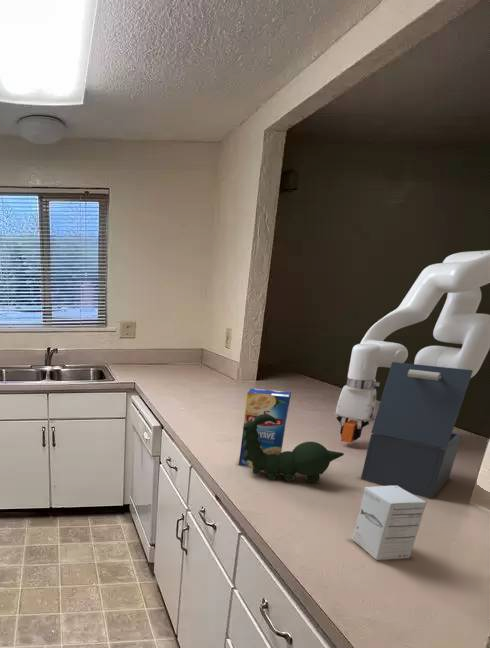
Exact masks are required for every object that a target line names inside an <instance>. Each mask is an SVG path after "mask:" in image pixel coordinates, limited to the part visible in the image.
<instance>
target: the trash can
mask: <svg viewBox="0 0 490 648" xmlns="http://www.w3.org/2000/svg"><path fill="white" fill-rule="evenodd" d="M462 436H463V434H462V433H461V434H460V433H456V432H452V434H451V437H450V440H449V443H448V446H447V449H445V448H441V447H436V446H431V445H426V444H422V443H417V442H412V441H407V440H403V439H398V438H393V437H388V436H384V435H379V434H374V433H370V438H369V442H368V446H367V451H366V455H365V459H364V464H363V467H362V471H361V477H360V480H364V481H367V482H371V483H374V484H378V485H380V486H399V487H400V488H402V489H404V490H406V491H408V492H409V493H411V494H413V495H417V496H420V497H424V498H426V499H427V498H428V499H433V497H435V495H436V494H437V493H438V492H439V490H440V489H441V488H442V487H443V486H444V485H445V484H446V482H447V481H448V480H449V479H450V476H451V472H452V469H453V466H454V464H455V459H456V457H457V454H458V450H459V446H460V443H461V441H462V438H463V437H462Z"/></svg>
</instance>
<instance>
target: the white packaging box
mask: <svg viewBox="0 0 490 648" xmlns="http://www.w3.org/2000/svg"><path fill="white" fill-rule="evenodd" d="M426 506H427V501H425V500H424V499H422V498H420V497H419V496H416V494H413V493H410V492H408V491H406V490H404V489H402V488H400V487H399V486H385V485H376V486H365V487H364V491H363V495H362V499H361V503H360V506H359V510H358V515H357V518H356V522H355V527H354V531H353V535H352V538H351V540H352V541H353V542H354V543H356V544H357V545H358V546H359V547H360V548H362V549H363V550H364V551H365V552H367V553H368V554H369V555H370V556H371V557H372V558H374V559H375V560H376V561H384V560H387V561H388V560H400V559H401V560H402V559H403V560H404V559H409V558H410V557H411V554H412V551H413V548H414V544H415V541H416V538H417V535H418V531H419V528H420V525H421V521H422V518H423V515H424V512H425V509H426Z"/></svg>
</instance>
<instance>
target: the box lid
mask: <svg viewBox="0 0 490 648" xmlns="http://www.w3.org/2000/svg"><path fill="white" fill-rule="evenodd" d="M472 372H473V370H465V369H456V368H446V367H436V366H427V365H417V364H414V363H408V362H404V363H398V362H392V364H391V367H389V372H388V375H387V378H386V382H385V385H384V387H383V392H382V394H381V399H380V401H379V404H378V405H379V406H378V408H377V411H376V414H375V422H374V423H373V424H372V428H371V432H370V434H373V433H374V434H379V435H384V436H388V437H393V438H398V439H403V440H407V441H412V442H417V443H422V444H426V445H431V446H436V447H441V448H445V449H447V446H448V443H449V440H450V437H451V434H452V433H453V431H454V429H455V424H456V423H457V419H458V417H459V413H460V410H461V408H462V404H463V401H464V399H465V396H466V392H467V389H468V387H469V384H470V380H471V379H472V378H471V375H472Z"/></svg>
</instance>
